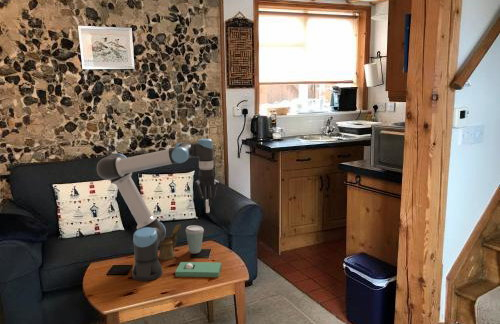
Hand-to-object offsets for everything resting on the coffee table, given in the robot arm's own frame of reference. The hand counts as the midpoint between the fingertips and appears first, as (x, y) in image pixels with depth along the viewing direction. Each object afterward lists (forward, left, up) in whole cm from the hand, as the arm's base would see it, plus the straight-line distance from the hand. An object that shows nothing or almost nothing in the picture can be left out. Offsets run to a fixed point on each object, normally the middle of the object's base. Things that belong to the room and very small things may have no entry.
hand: (207, 212), depth 218 cm
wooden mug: (-24, +10, -30) cm, 39 cm away
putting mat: (-4, -9, -29) cm, 31 cm away
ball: (-9, -10, -27) cm, 30 cm away
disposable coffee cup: (-11, +17, -30) cm, 36 cm away
